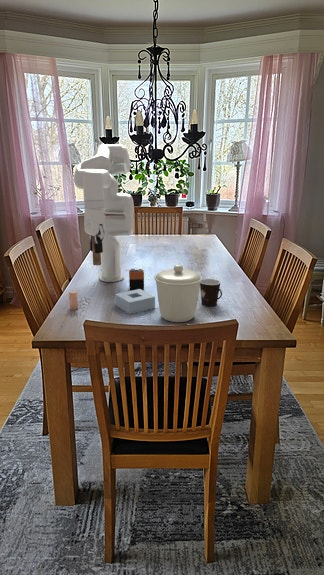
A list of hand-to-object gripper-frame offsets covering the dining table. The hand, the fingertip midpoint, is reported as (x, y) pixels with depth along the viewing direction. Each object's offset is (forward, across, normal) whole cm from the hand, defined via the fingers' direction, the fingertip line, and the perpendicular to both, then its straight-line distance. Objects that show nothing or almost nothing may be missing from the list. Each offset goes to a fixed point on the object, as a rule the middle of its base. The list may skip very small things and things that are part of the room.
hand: (96, 251), depth 157 cm
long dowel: (+5, 0, 0) cm, 5 cm away
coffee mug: (+24, +23, +40) cm, 52 cm away
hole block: (+24, +7, +13) cm, 28 cm away
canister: (+24, +26, +21) cm, 41 cm away
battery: (+24, -12, +25) cm, 37 cm away
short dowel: (+24, -5, -9) cm, 26 cm away
